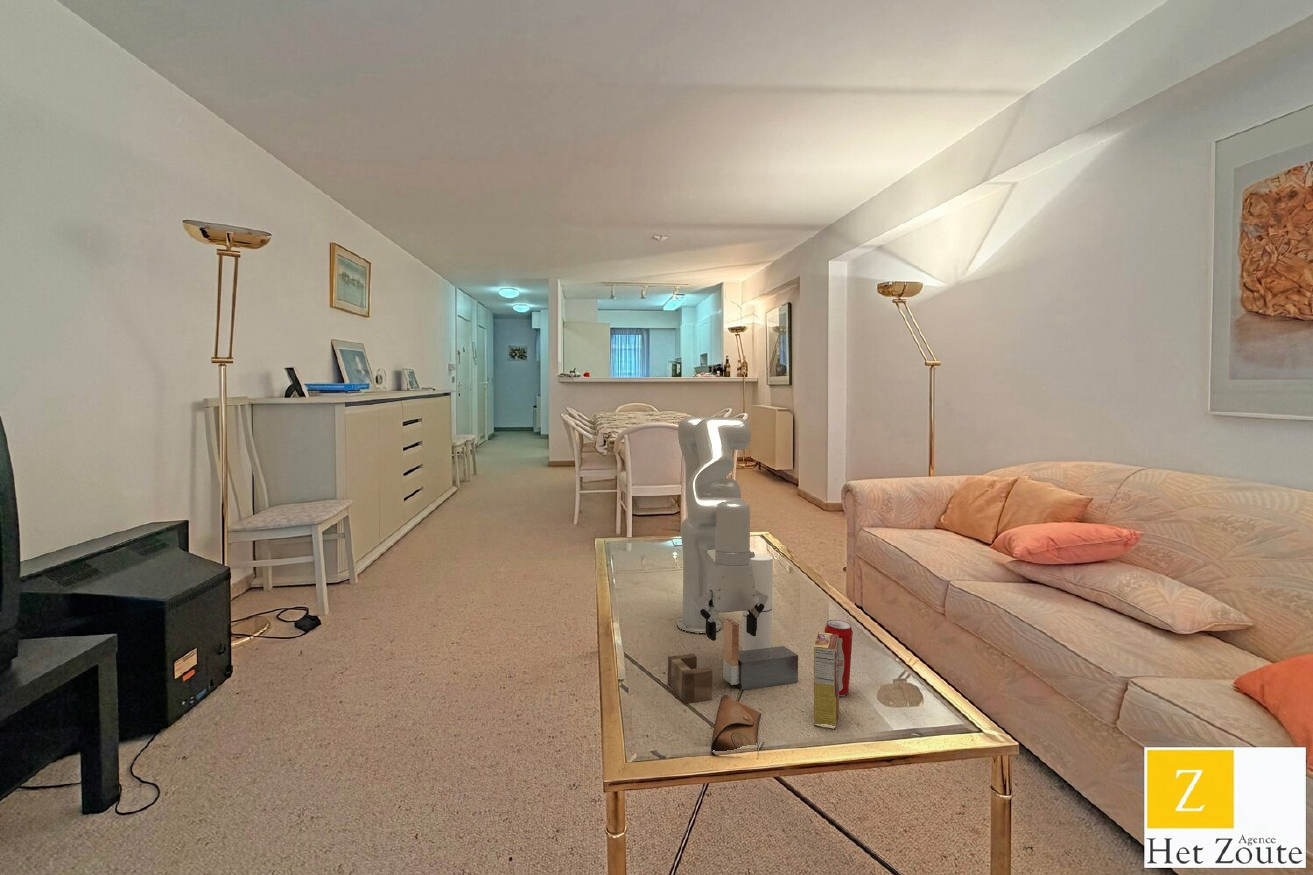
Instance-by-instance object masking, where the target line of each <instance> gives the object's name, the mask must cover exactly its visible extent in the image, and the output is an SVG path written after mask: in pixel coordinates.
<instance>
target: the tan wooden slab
mask: <svg viewBox="0 0 1313 875" xmlns="http://www.w3.org/2000/svg"><path fill="white" fill-rule="evenodd" d="M739 630H740V624H739V623H738V622H736V621H735V620H733V619H732V618H724V619H723V661H722V662H723V664H722V665H723V668H722V669H723V671H722V672H723V675H722V678H723V679H724V680H725V681H726V682H727V683H728V684H730V685H731V686H733V685H735V684H741V664H740V663H739V662H738V652H739V646H740V644H739V642H740V641H739V638H740V637H739V636H740V634H739V633H740V631H739ZM735 686H736V685H735Z"/></svg>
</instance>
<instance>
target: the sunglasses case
mask: <svg viewBox="0 0 1313 875" xmlns="http://www.w3.org/2000/svg"><path fill="white" fill-rule="evenodd" d="M761 716H762V712H760V711H758V710H755V709H754V708H752V707H750V706H747V704H743V703H741V702H740V701H737V700H735V699H734V698H732V697H731V696H730V695H729V694H727V693H724V694H723V695H722V696H721V698H720V701H719V704H718V708H717V713H716V717H715V721H714V722H715V723H714V726H713V732H712V738H711V745H710V750H711V752H712V751H713V750H715V751H727V750H734V749H737V748H740V747H742V746H747V745H756V743H757V744H758V739H757V736H758V734H759V724H760V718H761ZM758 737H759V736H758Z"/></svg>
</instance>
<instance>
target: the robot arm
mask: <svg viewBox="0 0 1313 875" xmlns="http://www.w3.org/2000/svg"><path fill="white" fill-rule="evenodd" d="M751 436H752V435H751V428H750V426H749V424H748V421H747V420H745V419H744V418H742V417H733V416H731V417H729V416H724V417H723V416H688V417H685V418H683V419H681V420H680V421H679V423H678V426H677V437H678V438H677V440H678V443H679V448H680V451H681V453H682V456H683V460H684V466H685V467H684V468H685V472H684V473H685V481H684V482H685V488H684V489H685V503H686V510H687V512H686V513H687V517H686V518H685V519H683V520H682V522H681V524H680V538H681V539H680V540H681V546H682V560H683V563H682V564H683V565H682V572H683V573H682V577H683V578H682V609H681V610H682V617H681V618H679V619H678V620H677V622H676V626H677V625H678V627H679V628H680V629H679V628H678V627H677V628H678V629H679V630H681V629H682V630H681V631H683V630H686V631H692V632H702V633H705V635H706V637H707V638H708V639H709V640H711V641H712V642H714V641H715V642H716V640H717V632H718V631H719V629H720V628H722V622H721V621H720V620H719V619H717V617H718V615H719V614H720V613H721V614H722V613H733V612H743V611H746V610H747V611H748V613H749V614H747V619H746V632H747V633H749V634H750V635H752V636H756V631H757V618H758V617H759V616H760V613H761V611H762V610H763V609H764V605H765V604H766V601H767V599H768V596H767V595H765V594H763V593H761V592H759V591H757V590H755V579H754V572H753V567H752V564H750V559H751V558H754V557H755V554H756V553H755V552H754V551H751V550H750V549H751V507H750V505H749V504H748V503H747V502H746V501H745V499H743V498H742V490H741V487H740V484H739V483H738V482H737V480H736V479H733V478H728V476H729V475H730V474H732V471H733V470H734V465H735V463H734V458H733V453H732V451H733V450H734V451H741V450H742V451H743V450H746V449H748V447H750V443H751V438H752V437H751ZM708 551H714V552H715V554H714V559H713V557H712V556H711V555H710V554H709V553H708ZM756 597H758V598H759V601H758V603H757V604H756V605H755V602H756ZM720 630H721V629H720ZM686 631H685V632H686Z"/></svg>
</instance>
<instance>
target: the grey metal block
mask: <svg viewBox="0 0 1313 875" xmlns="http://www.w3.org/2000/svg"><path fill="white" fill-rule="evenodd" d="M738 662H739V663H740V664H741V684H735V686H736V687H737V688H739V689H740V690H741V691H746V690H753V689H754V690H755V689H759V688H767V687H773V686H774V687H775V686H780V685H787V684H794V683H798V682H799V681H798V680H799V654H798V653H796V652H794V651H792V650H791V649H789V648H788V647H786V646H784V645H782V646H781V645H779V646H774V647H771V648H763V649H755V650H747V651H742V650H740V651H738Z"/></svg>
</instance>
